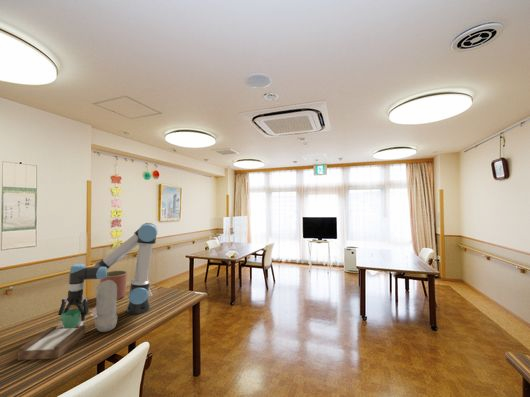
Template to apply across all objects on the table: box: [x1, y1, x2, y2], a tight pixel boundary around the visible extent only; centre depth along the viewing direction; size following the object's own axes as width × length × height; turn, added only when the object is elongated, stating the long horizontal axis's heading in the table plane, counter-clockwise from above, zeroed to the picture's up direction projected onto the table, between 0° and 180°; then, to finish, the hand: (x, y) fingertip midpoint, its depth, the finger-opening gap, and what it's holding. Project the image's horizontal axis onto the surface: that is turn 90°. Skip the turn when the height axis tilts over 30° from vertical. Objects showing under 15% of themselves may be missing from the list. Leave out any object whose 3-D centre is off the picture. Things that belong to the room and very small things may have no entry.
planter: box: [99, 269, 128, 301], centre depth 200 cm, size 19×19×20 cm
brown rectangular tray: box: [17, 324, 86, 361], centre depth 130 cm, size 18×22×6 cm
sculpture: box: [94, 280, 118, 333], centre depth 150 cm, size 15×12×30 cm
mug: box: [60, 308, 81, 329], centre depth 152 cm, size 15×10×10 cm
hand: (72, 326), depth 151 cm, fingers open, 9 cm apart
